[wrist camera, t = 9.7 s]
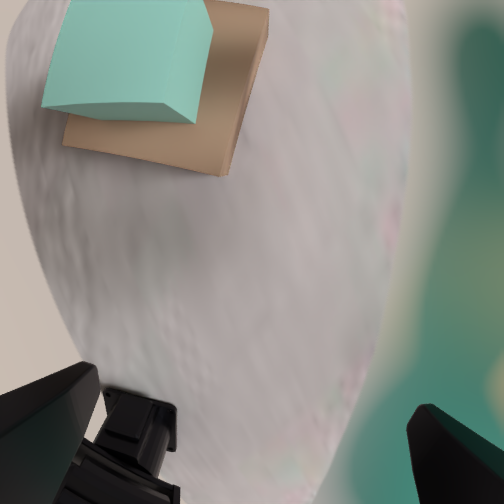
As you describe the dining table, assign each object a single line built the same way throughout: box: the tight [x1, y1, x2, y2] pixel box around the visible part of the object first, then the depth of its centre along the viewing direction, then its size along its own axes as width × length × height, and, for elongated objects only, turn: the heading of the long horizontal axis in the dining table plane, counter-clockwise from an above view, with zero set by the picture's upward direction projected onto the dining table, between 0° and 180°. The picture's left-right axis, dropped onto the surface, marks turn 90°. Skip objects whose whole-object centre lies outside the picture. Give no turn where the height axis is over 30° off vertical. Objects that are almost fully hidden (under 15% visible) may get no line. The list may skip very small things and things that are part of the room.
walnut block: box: [62, 0, 269, 177], centre depth 14 cm, size 9×9×4 cm
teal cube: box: [41, 0, 213, 124], centre depth 10 cm, size 5×5×5 cm
